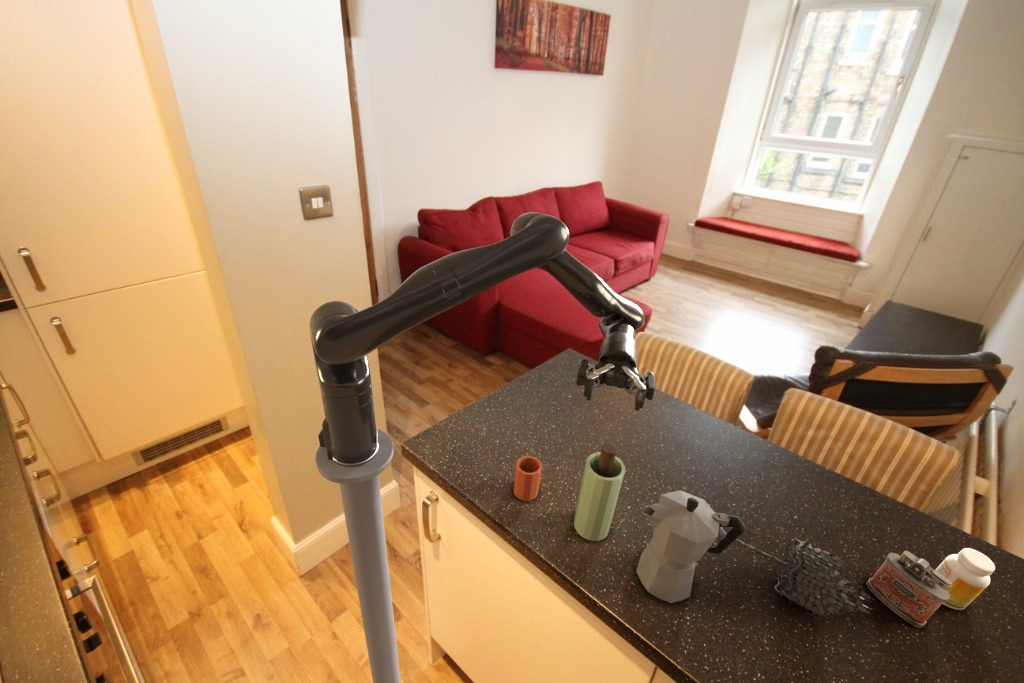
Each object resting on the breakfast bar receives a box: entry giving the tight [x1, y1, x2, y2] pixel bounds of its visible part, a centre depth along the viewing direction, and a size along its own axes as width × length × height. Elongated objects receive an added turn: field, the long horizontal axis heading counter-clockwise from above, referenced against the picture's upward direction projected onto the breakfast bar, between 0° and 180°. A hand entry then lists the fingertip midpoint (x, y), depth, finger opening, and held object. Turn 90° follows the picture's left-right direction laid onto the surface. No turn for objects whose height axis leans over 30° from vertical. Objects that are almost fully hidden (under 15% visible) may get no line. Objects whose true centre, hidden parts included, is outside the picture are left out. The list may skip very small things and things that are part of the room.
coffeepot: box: [635, 490, 747, 604], centre depth 69 cm, size 15×9×18 cm, turn 85°
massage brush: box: [715, 527, 875, 620], centre depth 72 cm, size 9×22×9 cm, turn 58°
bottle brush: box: [596, 442, 618, 478], centre depth 76 cm, size 3×3×18 cm
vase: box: [573, 451, 626, 542], centre depth 78 cm, size 6×6×15 cm
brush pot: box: [513, 455, 543, 502], centre depth 85 cm, size 5×5×7 cm
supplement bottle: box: [935, 547, 996, 611], centre depth 72 cm, size 5×5×10 cm
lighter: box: [866, 550, 952, 629], centre depth 70 cm, size 8×3×10 cm, turn 27°
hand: (613, 401), depth 78 cm, fingers open, 8 cm apart
